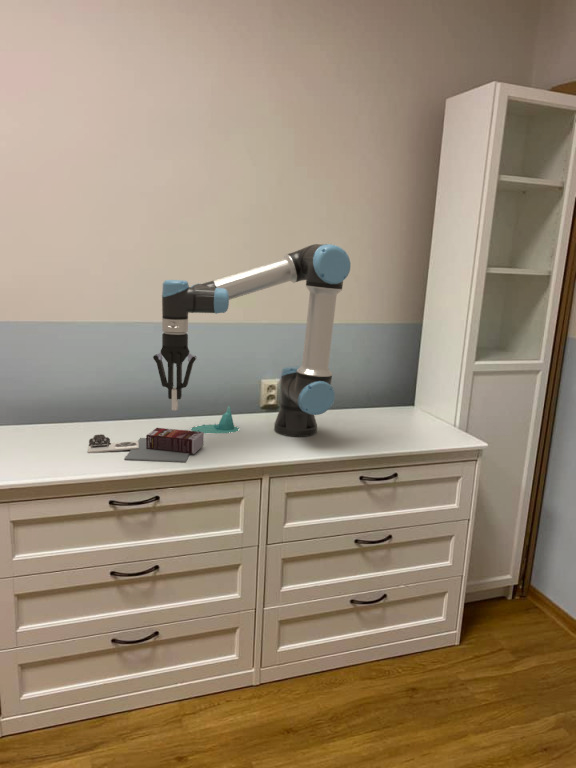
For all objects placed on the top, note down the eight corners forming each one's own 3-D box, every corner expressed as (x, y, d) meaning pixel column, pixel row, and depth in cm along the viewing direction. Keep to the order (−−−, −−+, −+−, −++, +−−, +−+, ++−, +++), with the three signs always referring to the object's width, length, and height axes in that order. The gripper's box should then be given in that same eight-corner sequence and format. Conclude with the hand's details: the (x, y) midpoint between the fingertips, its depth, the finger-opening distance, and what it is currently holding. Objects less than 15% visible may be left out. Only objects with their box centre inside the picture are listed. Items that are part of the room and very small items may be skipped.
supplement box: (194, 439, 183) (145, 434, 186) (194, 454, 184) (145, 449, 187) (203, 430, 191) (156, 426, 194) (204, 445, 192) (156, 441, 195)
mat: (195, 441, 198) (195, 440, 198) (185, 462, 178) (185, 461, 178) (140, 439, 198) (140, 437, 197) (124, 460, 178) (124, 458, 178)
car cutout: (87, 453, 183) (86, 438, 182) (89, 446, 189) (87, 432, 188) (138, 449, 186) (138, 435, 185) (138, 442, 193) (137, 428, 192)
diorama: (185, 425, 217) (185, 402, 215) (241, 424, 220) (242, 401, 218) (186, 435, 205) (186, 411, 203) (244, 434, 209) (245, 410, 207)
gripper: (150, 333, 176) (150, 411, 181) (195, 335, 176) (194, 413, 181) (155, 330, 183) (156, 405, 189) (198, 331, 184) (197, 407, 189)
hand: (174, 409), depth 185 cm, fingers closed
